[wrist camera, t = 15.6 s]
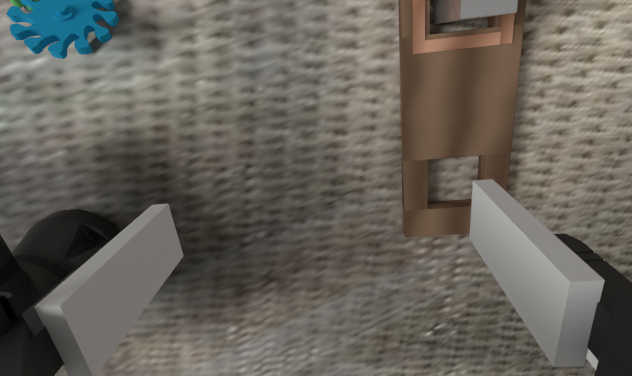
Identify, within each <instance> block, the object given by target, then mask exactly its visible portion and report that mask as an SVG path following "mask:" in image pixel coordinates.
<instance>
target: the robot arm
mask: <svg viewBox="0 0 632 376" xmlns="http://www.w3.org/2000/svg"><path fill="white" fill-rule="evenodd" d="M469 239H470V241H471V242H472V244H473V245H474V247H475V248H476V250H477V251H478V253H479V254H480V256H481V258H482V259H483V261H484V262H485V264H486V265H487V267H488V268H489V270H490V271H491V273H492V274H493V276H494V277H495V279H496V280H497V282H498V283H499V285H500V286H501V288H502V290H503V291H504V293H505V294H506V296H507V297H508V299H509V300H510V302H511V303H512V305H513V306H514V308H515V309H516V311H517V312H518V314H519V315H520V317H521V318H522V320H523V322H524V323H525V325H526V326H527V328H528V329H529V331H530V332H531V334H532V335H533V337H534V338H535V340H536V341H537V343H538V344H539V346H540V347H541V349H542V350H543V352H544V354H545V355H546V357H547V358H548V360H549V361H550V363H551V364H552V366H553V367H581V366H584V365H585V361H586V357H587V353H588V349H589V350H590V351H591V352H592V354H593V355H594V356H595V357H596V359H597V360H598V365H597V368H596V372H595V376H632V283H631V282H630V281H629V280H628V279H627V278H625V277H624V276H623V275H622V274H621V273H619V272H618V271H617V270H616V269H615V268H613V267H612V266H611V265H610V264H608V263H607V262H606V261H603V259H602V258H601V257H600V256H599V255H598V254H596V253H594V252H593V250H591V249H590V248H589V247H588V246H587V245H585V244H584V243H583V242H582V241H580V240H578V239H575V238H573V237H571V236H569V235H567V234H553V233H552V232H551V231H550V230H548V229H547V228H546V227H545V226H544V225H543V224H542V223H541V222H540V221H538V220H537V219H536V218H535V217H534V216H533V215H532V214H531V213H530V212H528V211H527V210H526V209H525V208H524V207H523V206H522V205H521V204H520V203H518V202H517V201H516V200H515V199H514V198H513V197H512V196H511V195H510V194H508V193H507V192H506V191H505V190H504V189H503V188H502V187H501V186H500V185H498V184H497V183H496V182H495V181H494V180H493V179H487V180H474V181H473V188H472V204H471V220H470V236H469ZM182 258H183V252H182V249H181V245H180V242H179V238H178V235H177V232H176V228H175V225H174V221H173V218H172V214H171V211H170V208H169V204H156V205H151V206H150V207H149V208H148V209H147V210H145V211H144V212H143V213H142V214H141V215H140V216H139V217H137V218H136V219H135V220H134V221H133V222H132V223H130V224H129V225H128V226H127V227H126V228H125V229H124V230H122V231H121V232H120V231H119V230H118V229H117V228H116V227H114V226H113V225H112V224H110V223H109V222H108V221H106V220H104V219H102V218H100V217H98V216H96V215H94V214H91V213H88V212H84V211H78V210H64V211H59V212H56V213H53V214H51V215H49V216H47V217H46V218H44V219H42V220H41V221H39V222H38V223H36V224H35V225H34V226H33V227H32V228H31V229H30V230H29V231H28V232H27V234H26V236H25V237H24V238H23V239H22V240H21V242H20V243H19V244H18V245H17V247H16V248H15V249H14V251H13V252H12V253H11V251H10V250H9V248H8V246H7V245H6V243H5V242H4V240H3V238H2V237H1V235H0V376H54V375H55V374H56V372H57V371H58V370H59V369H60V368H61V367H62V365H64V367H65V369H66V371H67V373H68V375H69V376H96V375H97V374H98V372H99V371H100V370H101V368H102V367H103V366H104V364H105V363H106V362H107V360H108V359H109V357H110V356H111V355H112V353H113V352H114V351H115V349H116V348H117V346H118V345H119V344H120V342H121V341H122V340H123V338H124V337H125V336H126V334H127V333H128V331H129V330H130V329H131V327H132V326H133V325H134V323H135V322H136V320H137V319H138V318H139V316H140V315H141V314H142V312H143V311H144V310H145V308H146V307H147V305H148V304H149V303H150V301H151V300H152V299H153V297H154V296H155V294H156V293H157V292H158V290H159V289H160V288H161V286H162V285H163V284H164V282H165V281H166V279H167V278H168V277H169V275H170V274H171V273H172V271H173V270H174V268H175V267H176V266H177V264H178V263H179V262H180V260H181V259H182Z"/></svg>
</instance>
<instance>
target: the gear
mask: <svg viewBox="0 0 632 376" xmlns="http://www.w3.org/2000/svg"><path fill="white" fill-rule="evenodd" d="M10 1H11V2H12V3H13V5H14V6H12V7H11V8H10V9H9V10H8V12H7V15H8V16H9V18H10V19H11V20H12V21H13V22H17V23H18V22H27V23H31V24H32V25H31V26H29V27H25V26H22V25H20V24H12V25H11V26H10V31H11V34H12V35H13V36H14V37H15V39H16V40H24V39H25V40H24V43H25V44H26V45H27V46H28V48H29V49H30V50H31V51H32V52H33V53H35V54H38V53H40V52H42V51H43V49H44V48H45V47H46V46H47V45H49V44H51V43H53V42H56V41H59V42H57V43H54V44H51V45H50V46H49V47H48V50H49V52H50V53H51V54H52V56H54V57H57V58H62V59H64V58H65V57H66V56H67V49H68V46H69V45H70V44H71V43H72V42H73V41H75V44H74V46H75V48H76V49H77V51H78V52H79V54H89V53H92V47H91V46H90V44H89V42H88V41H87V37H88V33H89V32H92V31H95V35H96V37H97V38H98V40H99V41H100V42H101V43H105V42H107V41H108V40H110V39H111V38H112V36H111V34H110V32H109V31H108V29H107V28H104V27H101V26H99V25H98V24H96V22H97V21H98V20H105V21H106V22H107V24H108V25H109V26H112V27H115V26H116V25H117V24H118V22H119V17H118V15H117V13H116V12H114V11H100V10H97V9H96V8H99V7H101V8H104V9H106V10H113V9H114V8H115V6H114V3H113V0H10ZM24 6H25V7H24ZM22 7H24V8H25V10H26V12H27V14H25V13H23V12H22V11H21V9H20V8H22ZM31 36H41V37H38V38H33V37H31ZM28 37H31V38H28ZM26 38H27V39H26Z"/></svg>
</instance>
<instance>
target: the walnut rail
mask: <svg viewBox="0 0 632 376" xmlns="http://www.w3.org/2000/svg"><path fill="white" fill-rule="evenodd" d="M525 8H526V0H518V4H517V12H516V13H510V14H504V15H498V16H492V17H488V28H482V29H473V30H464V31H456V32H447V33H439V34H430V0H399V45H400V99H401V153H402V207H403V231H404V234H405V237H415V236H431V235H447V234H464V233H470V220H471V204H472V199H468V200H454V201H440V202H428V159H440V158H452V157H465V156H477V155H479V165H478V180H487V179H493V180H494V181H495V182H496V183H497V184H498V185H500V186H501V187H502V188H503V189H504V190H505V191H506V192H507V185H508V175H509V165H510V155H511V146H512V136H513V126H514V116H515V106H516V96H517V86H518V77H519V67H520V57H521V47H522V37H523V27H524V17H525ZM429 34H430V35H429Z"/></svg>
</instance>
